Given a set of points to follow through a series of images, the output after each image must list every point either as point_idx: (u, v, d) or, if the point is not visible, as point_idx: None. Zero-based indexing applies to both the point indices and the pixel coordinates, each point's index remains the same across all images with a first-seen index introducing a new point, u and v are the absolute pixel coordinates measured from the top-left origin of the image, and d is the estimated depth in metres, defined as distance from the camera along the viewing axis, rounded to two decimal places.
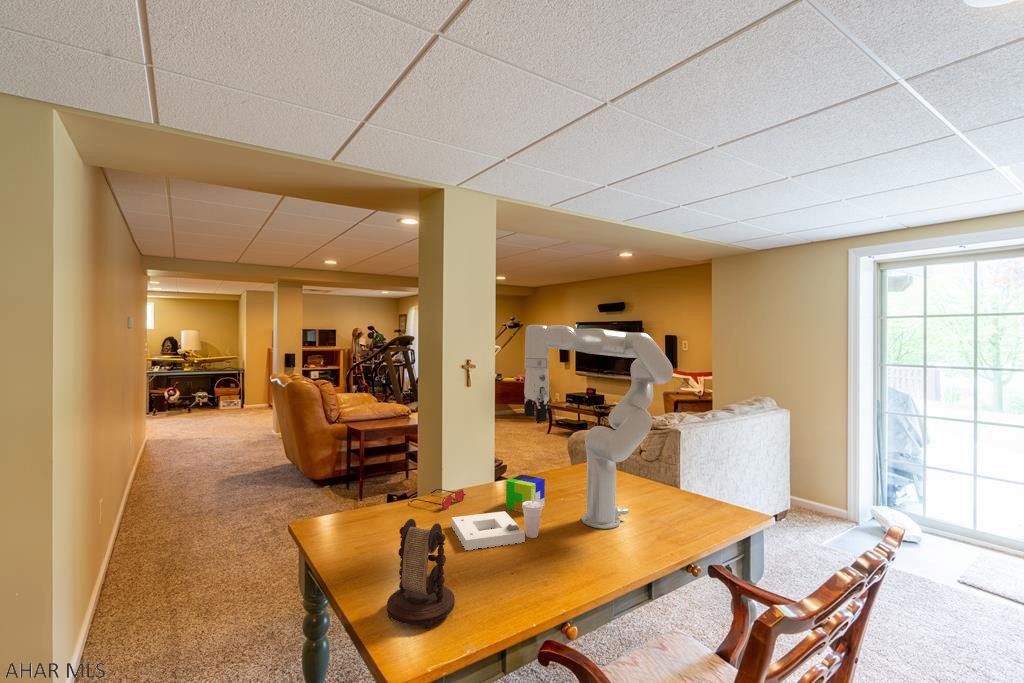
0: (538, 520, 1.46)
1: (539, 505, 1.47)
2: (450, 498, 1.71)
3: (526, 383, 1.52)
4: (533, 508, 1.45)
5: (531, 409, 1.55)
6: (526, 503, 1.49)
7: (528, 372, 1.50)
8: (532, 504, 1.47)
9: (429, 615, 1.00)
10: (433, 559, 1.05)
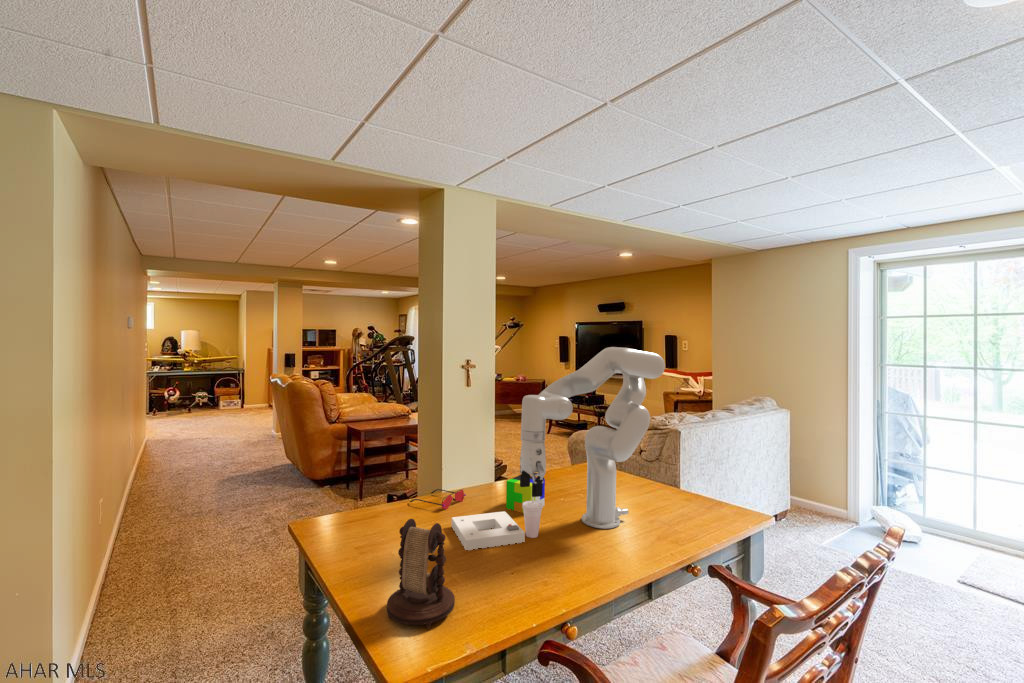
0: (538, 520, 1.46)
1: (539, 505, 1.47)
2: (450, 498, 1.71)
3: (522, 454, 1.49)
4: (533, 508, 1.45)
5: (527, 479, 1.52)
6: (526, 503, 1.49)
7: (524, 443, 1.47)
8: (532, 504, 1.47)
9: (429, 615, 1.00)
10: (433, 559, 1.05)
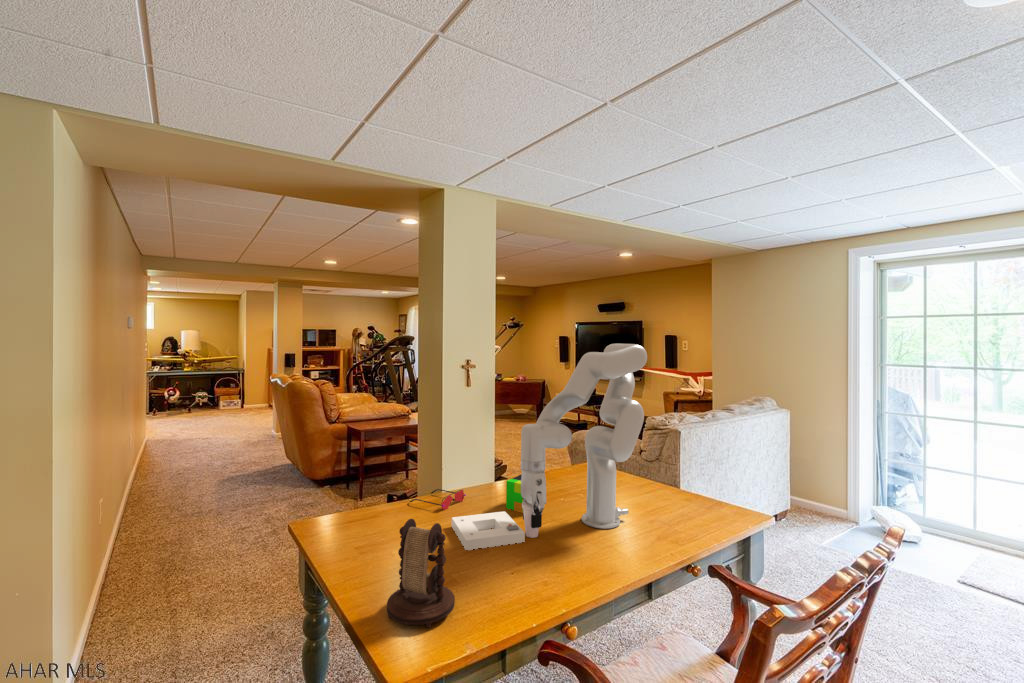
0: None
1: None
2: (449, 498, 1.71)
3: (522, 483, 1.49)
4: None
5: None
6: (526, 503, 1.49)
7: (524, 473, 1.48)
8: None
9: (429, 615, 1.00)
10: (433, 559, 1.05)
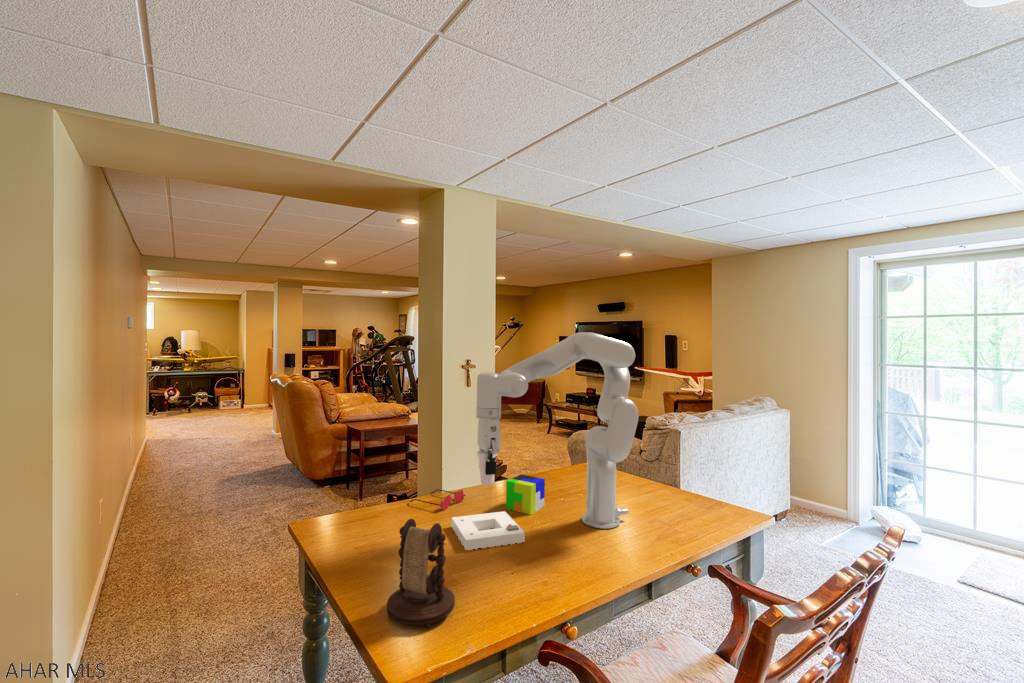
0: None
1: None
2: (449, 499, 1.70)
3: (478, 432, 1.49)
4: None
5: None
6: (481, 451, 1.49)
7: (479, 421, 1.48)
8: None
9: (429, 615, 1.00)
10: (433, 559, 1.05)
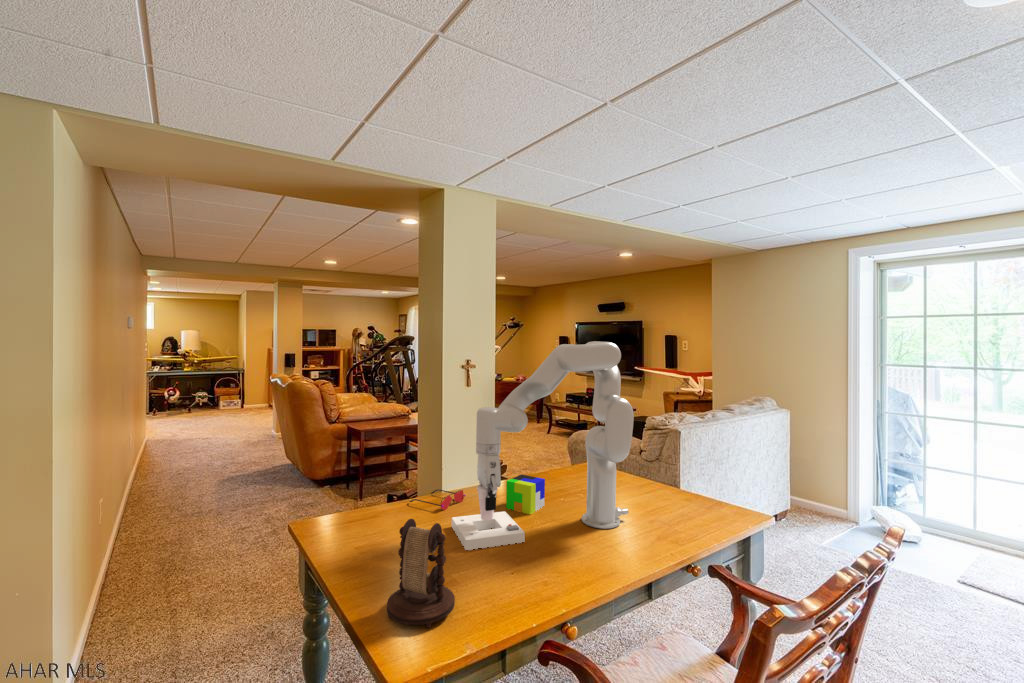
0: None
1: None
2: (449, 499, 1.70)
3: (478, 467, 1.49)
4: None
5: None
6: (481, 486, 1.49)
7: (479, 456, 1.48)
8: None
9: (429, 615, 1.00)
10: (433, 559, 1.05)
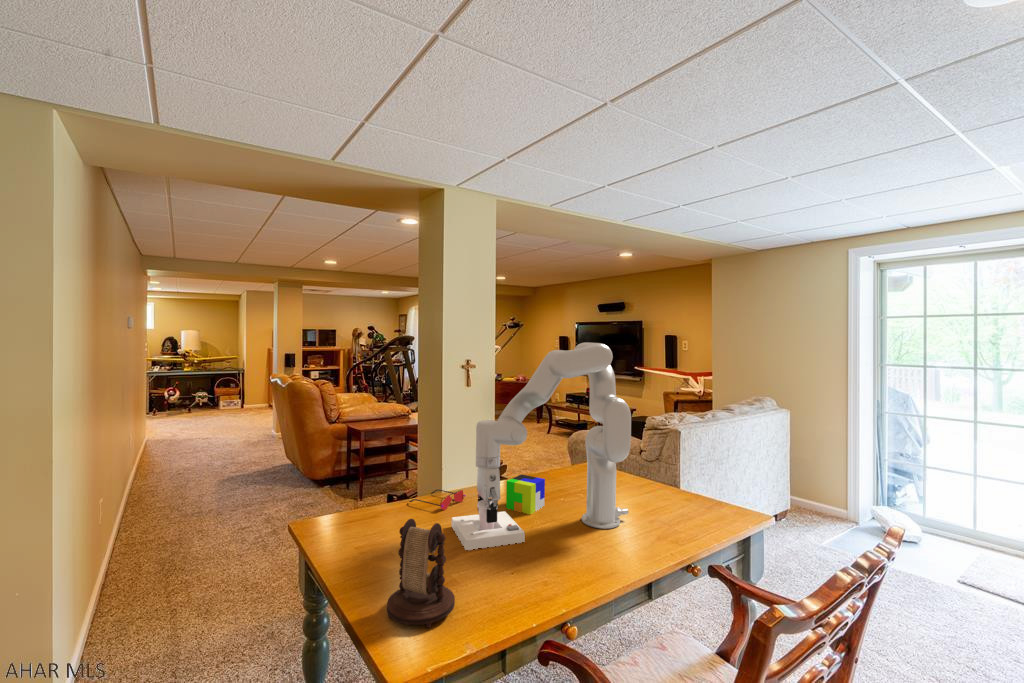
0: None
1: None
2: (449, 499, 1.70)
3: (478, 479, 1.49)
4: (487, 507, 1.45)
5: None
6: (481, 502, 1.49)
7: (479, 469, 1.48)
8: None
9: (429, 615, 1.00)
10: (433, 559, 1.05)
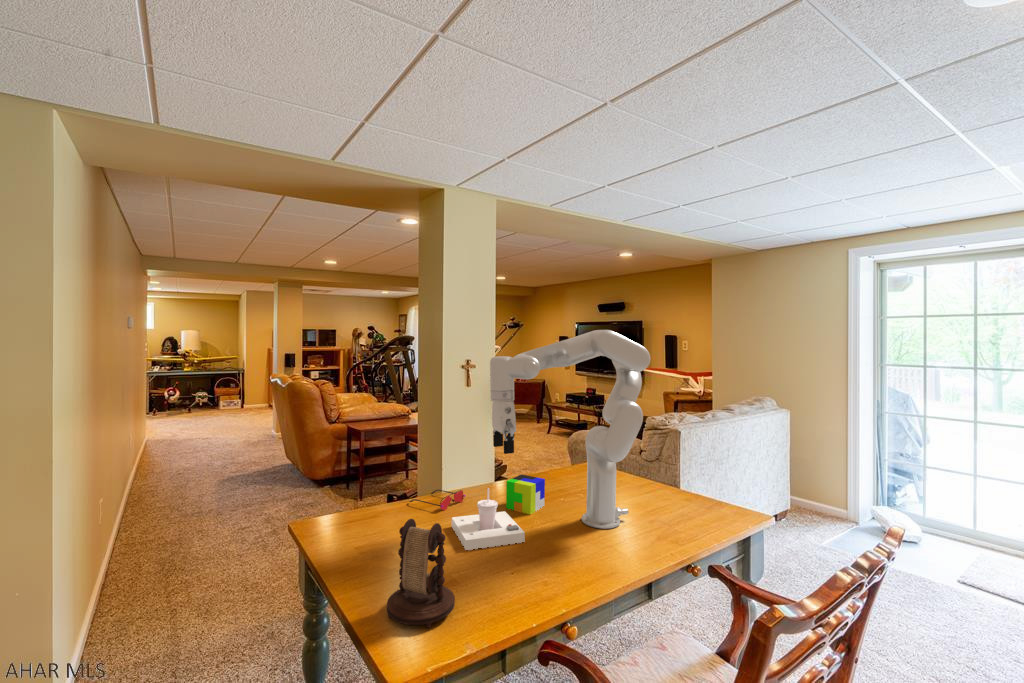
0: (493, 519, 1.47)
1: (494, 504, 1.47)
2: (448, 499, 1.70)
3: (493, 414, 1.52)
4: (487, 507, 1.45)
5: (500, 439, 1.56)
6: (481, 502, 1.49)
7: (494, 403, 1.51)
8: (487, 503, 1.48)
9: (429, 615, 1.00)
10: (433, 559, 1.05)
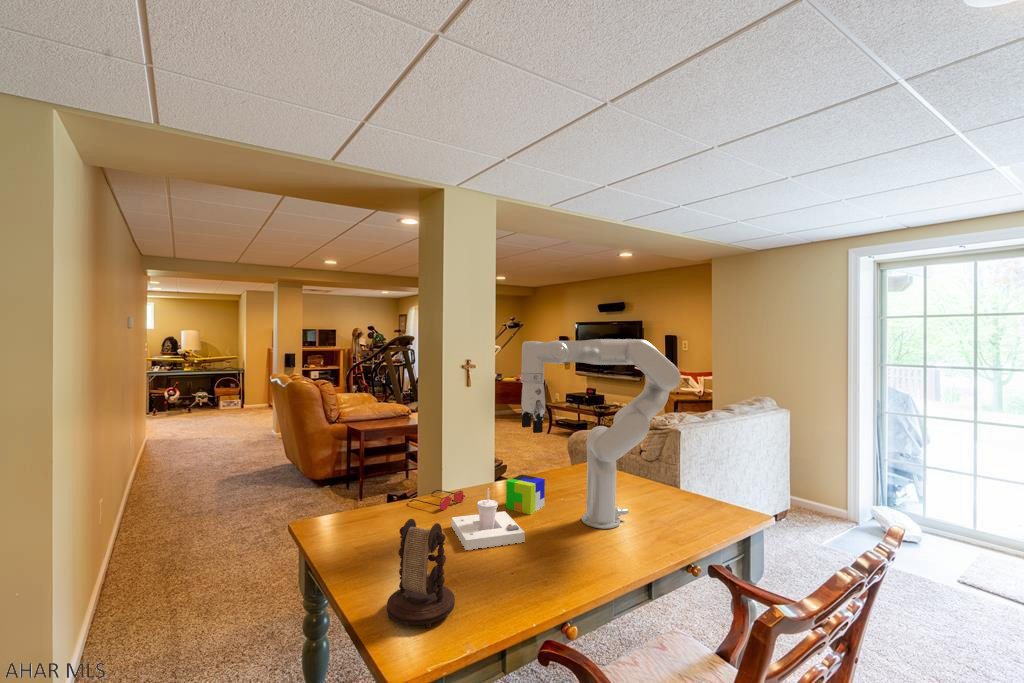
0: (493, 519, 1.47)
1: (494, 504, 1.47)
2: (448, 499, 1.70)
3: (523, 396, 1.60)
4: (487, 507, 1.45)
5: (528, 420, 1.64)
6: (481, 502, 1.49)
7: (524, 385, 1.59)
8: (487, 503, 1.48)
9: (429, 615, 1.00)
10: (433, 559, 1.05)
